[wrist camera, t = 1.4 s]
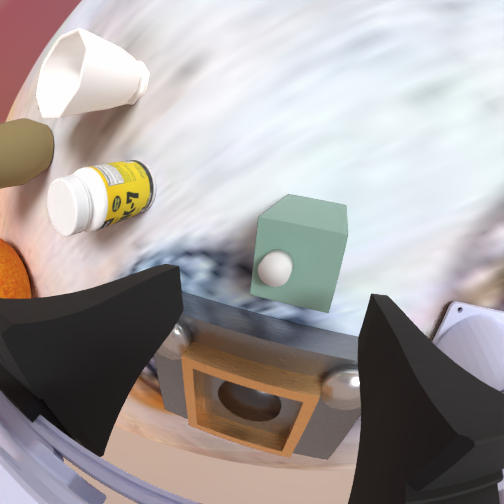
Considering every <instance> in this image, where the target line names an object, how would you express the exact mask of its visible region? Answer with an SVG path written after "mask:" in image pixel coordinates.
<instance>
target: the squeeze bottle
mask: <svg viewBox="0 0 504 504" xmlns="http://www.w3.org/2000/svg"><path fill="white" fill-rule="evenodd" d="M53 148H54V143H53V135H52V132H51V129H50V128H49V127H48V126H47V125H45V124H42V123H39V122H35V121H32V120H29V119H23V118H22V119H18V120H13V121H9V122H5V123H1V124H0V188H6V187H12V186H18V185H23V184H25V183H27V182H28V181H30V180H31V179H32V178H34V177H35V176H37V175H38V174H40V173H41V172H43V171H44V170H46V169H47V168H48V167H49V165H50V163H51V160H52V156H53Z"/></svg>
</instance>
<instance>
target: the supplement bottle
mask: <svg viewBox="0 0 504 504" xmlns="http://www.w3.org/2000/svg"><path fill="white" fill-rule="evenodd" d="M155 194H156V181H155V177H154V175H153V172H152V171H151V169H150V168H149V167H148V166H147V165H146V164H145V163H143V162H141V161H138V160H130V161H122V162H114V163H107V164H101V165H95V166H88V167H83V168H80V169H78V170H77V171H75V172H74V173H73V174H72V175H68V176H65V177H61V178H57V179H55V180H54V181H53V182H52V183H51V185H50V187H49V190H48V196H47V207H48V213H49V217H50V219H51V222H52V224H53V226H54V228H55V229H56V231H57V232H58V233H59V234H61V235H63V236H71V235H73V234H77V233H80V232H82V231H85V232H93V231H96V230H100V229H102V228H104V227H107V226H109V225H111V224H114V223H117V222H119V221H122V220H124V219H127V218H130V217H132V216H135V215H138V214H140V213H143V212H145V211H146V210H147V209H148V208H149V207H150V206H151V205H152V203H153V201H154V198H155Z"/></svg>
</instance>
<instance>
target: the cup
mask: <svg viewBox="0 0 504 504" xmlns="http://www.w3.org/2000/svg"><path fill="white" fill-rule="evenodd" d="M149 75H150V73H149V71H148V69H147V68H146V66H145V65H144V63H143V62H142V61H136V60H135V58H134V57H132V56H131V55H130V54H128V53H127V52H126V51H124V50H123V49H122V48H120V47H118V46H116V45H114V44H112V43H110V42H108V41H106V40H104V39H102V38H100V37H98V36H96V35H94V34H92V33H90V32H88V31H86V30H84V29H81V28H78V29H76V30H73V31H71V32H68V33H66V34H64V35H61V36H60V37H59V38H58V40H57V41H56V43H55V44H54V46H53V47H52V49H51V50H50V52H49V53H48V55H47V56H46V58H45V60H44V61H43V63H42V67H41V71H40V75H39V80H38V85H37V91H36V99H37V102H38V109H39V110H40V112H41V116H42V119H44V118H61V117H66V116H71V115H76V114H80V113H85V112H91V111H98V110H105V109H110V108H113V107H117V106H121V105H124V104H130V105H133V104H134V103H135V102H136V101H137V100H138V99H139V98H140V97H141V96H142V95H143V94H144V93H145V92H146V89H147V84H148V80H149Z"/></svg>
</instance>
